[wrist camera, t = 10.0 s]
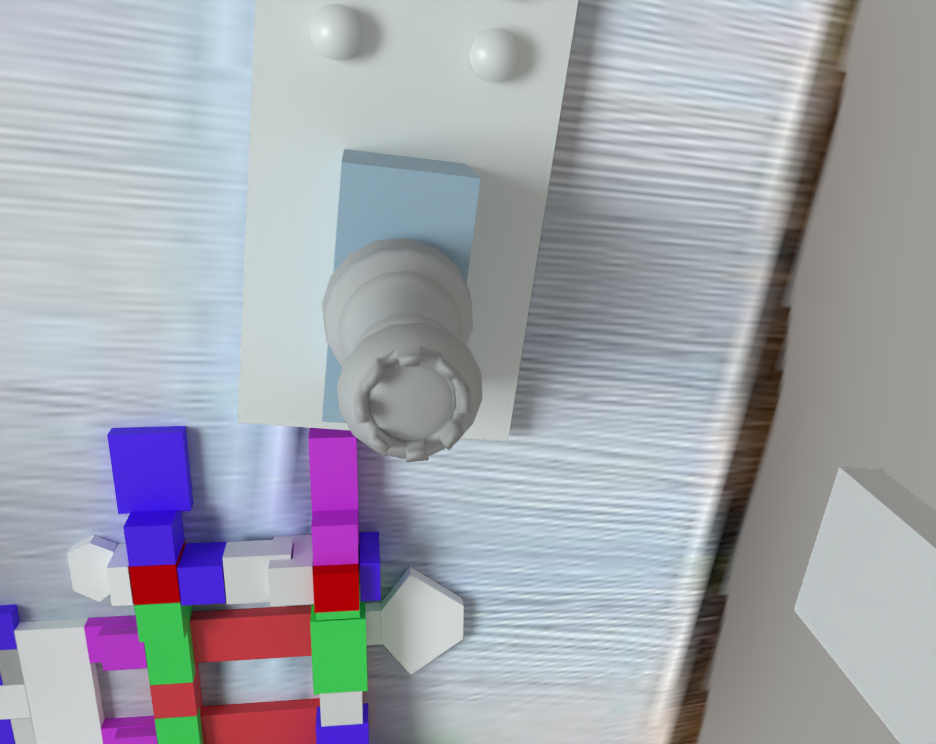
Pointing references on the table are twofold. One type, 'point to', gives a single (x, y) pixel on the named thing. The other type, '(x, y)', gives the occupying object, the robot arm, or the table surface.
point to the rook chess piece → (403, 348)
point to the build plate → (403, 134)
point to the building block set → (219, 614)
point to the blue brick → (400, 218)
